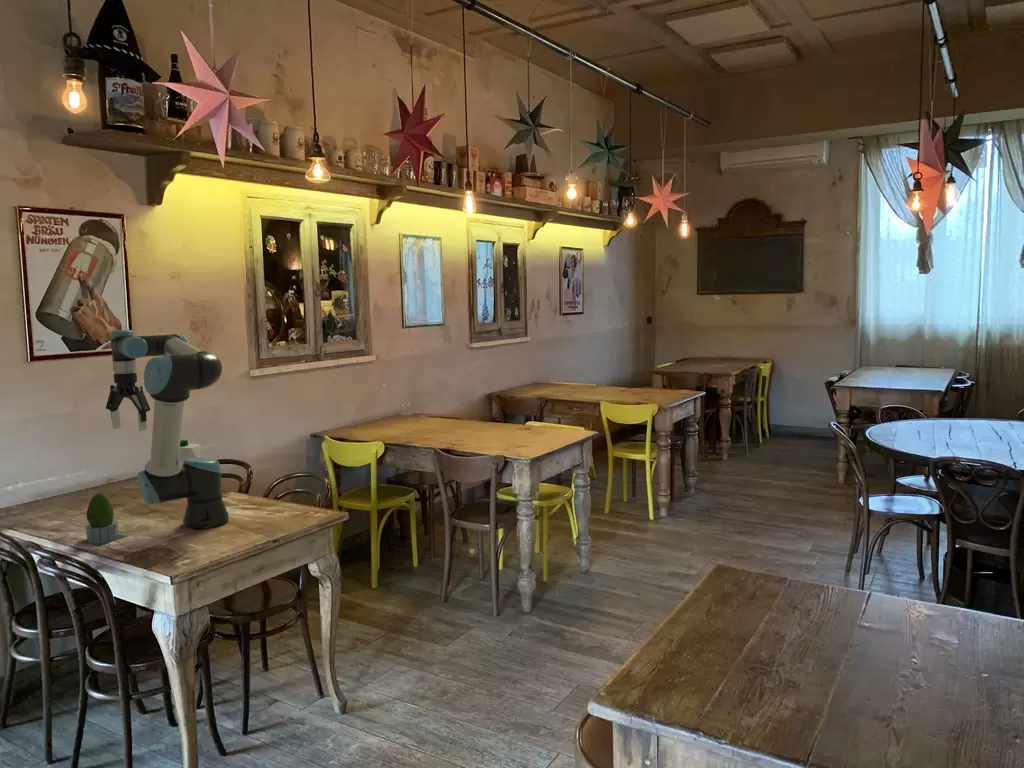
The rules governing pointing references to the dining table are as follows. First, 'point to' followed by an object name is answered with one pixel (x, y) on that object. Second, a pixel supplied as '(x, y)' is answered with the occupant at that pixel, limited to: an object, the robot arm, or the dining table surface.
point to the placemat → (102, 543)
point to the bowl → (102, 533)
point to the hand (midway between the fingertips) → (129, 429)
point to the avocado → (100, 511)
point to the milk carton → (188, 450)
